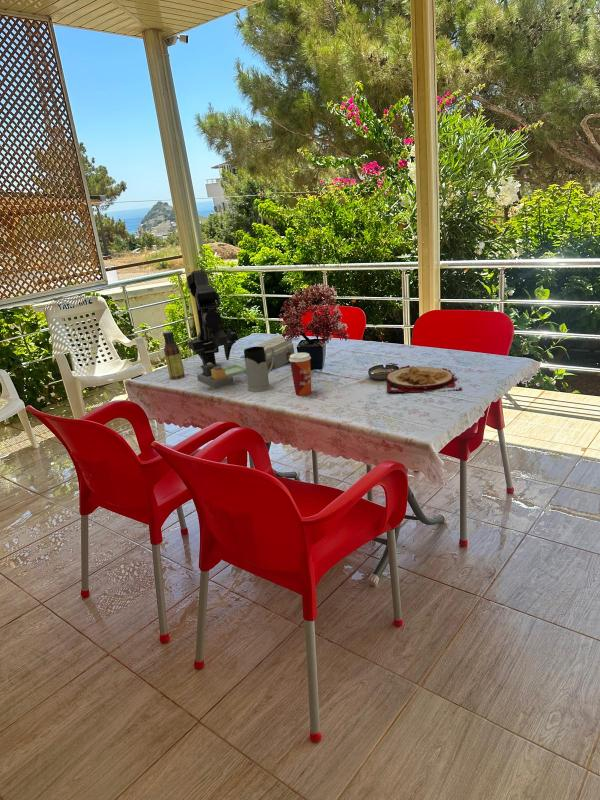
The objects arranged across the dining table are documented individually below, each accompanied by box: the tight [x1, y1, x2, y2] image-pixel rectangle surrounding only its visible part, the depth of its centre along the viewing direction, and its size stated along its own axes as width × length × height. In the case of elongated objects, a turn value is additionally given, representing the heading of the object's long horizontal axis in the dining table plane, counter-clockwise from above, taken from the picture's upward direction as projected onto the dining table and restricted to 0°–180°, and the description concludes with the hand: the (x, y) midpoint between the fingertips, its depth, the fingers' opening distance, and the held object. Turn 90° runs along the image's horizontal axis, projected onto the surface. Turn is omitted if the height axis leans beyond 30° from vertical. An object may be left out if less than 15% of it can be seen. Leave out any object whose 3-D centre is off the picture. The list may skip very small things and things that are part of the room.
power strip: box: [196, 372, 235, 390], centre depth 218 cm, size 16×8×3 cm, turn 35°
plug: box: [211, 365, 226, 381], centre depth 214 cm, size 4×4×7 cm
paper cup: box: [289, 352, 312, 397], centre depth 194 cm, size 8×8×14 cm
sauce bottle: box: [162, 330, 185, 381], centre depth 227 cm, size 7×6×20 cm
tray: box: [222, 363, 246, 377], centre depth 229 cm, size 11×11×2 cm
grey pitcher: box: [243, 346, 274, 393], centre depth 206 cm, size 9×14×15 cm, turn 139°
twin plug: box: [201, 363, 216, 377], centre depth 220 cm, size 4×4×7 cm
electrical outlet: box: [239, 336, 300, 371], centre depth 233 cm, size 12×28×10 cm, turn 138°
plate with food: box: [385, 362, 463, 394], centre depth 196 cm, size 25×26×4 cm
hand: (216, 362), depth 212 cm, fingers open, 9 cm apart
